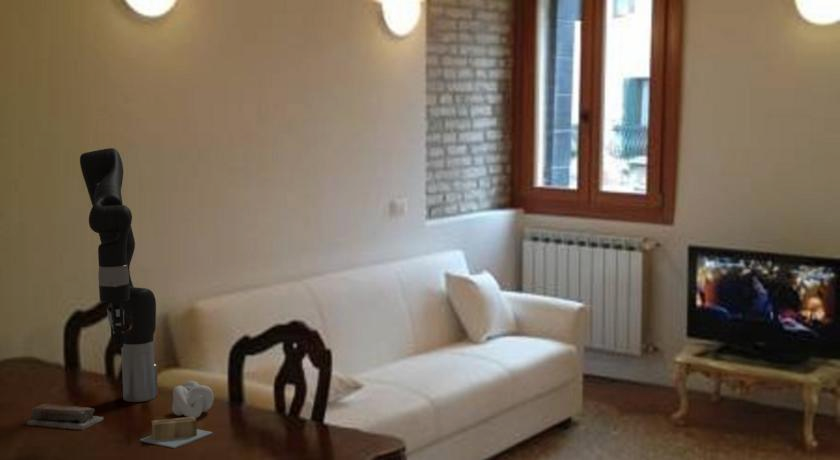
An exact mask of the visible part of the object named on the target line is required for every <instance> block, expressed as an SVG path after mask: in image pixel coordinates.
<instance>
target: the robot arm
mask: <svg viewBox="0 0 840 460" xmlns="http://www.w3.org/2000/svg"><path fill="white" fill-rule="evenodd" d="M79 164H80V165H79V166H80V170H81V173H82V174H81V175H82V177H83V180H84V183H85V186H86V189H87V193H88V196H89V200H90V203H91V205H92V207H91V209H90V211H89V213H88V214H89V215H88V225H89V227H90V229H91V230H92V231H93V232H94V233H96V234H98V236H99V241H100V244H99V245H98V247H97V256H98V257H97V258H98V273H97V274H98V275H97V276H98V291H99V292H98V293H99V295H98V296H99V301H100V302H101V303H107V304H108V305H107V307H106V312H107V321H108V322H109V327H110V339H111V341H112V342H113V346H114V348H115V349H117V348H118V349H119V348H121V369H122V370H121V371H122V372H121V373H122V394H123V396H122V397H123V399H122V400H124V401H125V402H130V403H131V402H133V403H137V402H139V403H140V402H148V401H150V400H154V399H155V398H156V397H158V396H159V389H158V384H159V383H158V366H157V364H156V363H155V347H154V346H155V344H154V335H155V331H156V327H157V326H156V325H157V324H156V323H157V321H156V319H157V301H156V300H157V299H156V297H155V294H154V292H153V291H152V290H150V288H144V287H135V286H134V285H133V282H132V278H131V272H130V265H131V262H132V260H133V257H134V252H135V248H136V242H135V236H134V232H133V229H132V222H133V214H132V211H131V209H130V208H129V207H128V206H127V205H124V204H123V198H122V186H123V180H124V166H123V161H122V158H121V154H120V153H119V151H118V150H117V149H116V148H109V147H108V148H103V149H98V150H92V151H88V152H87V151H86V152H84V153H82V154H80V156H79ZM125 319H131V321H132V322H131V328H129V329H127V330H125Z"/></svg>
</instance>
